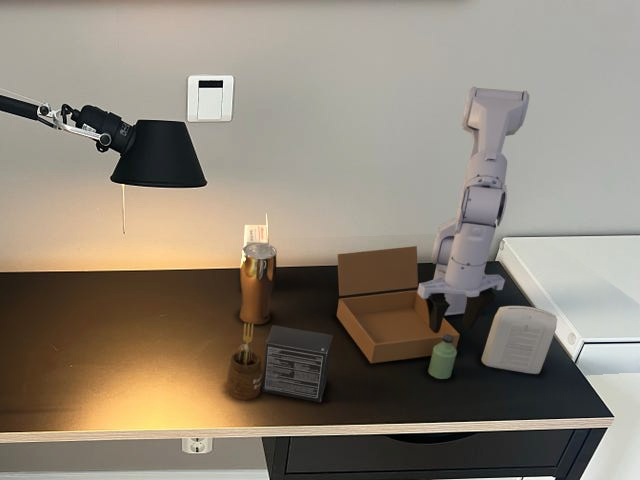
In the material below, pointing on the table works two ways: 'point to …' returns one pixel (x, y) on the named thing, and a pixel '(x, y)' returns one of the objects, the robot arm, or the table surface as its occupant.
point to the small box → (296, 363)
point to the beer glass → (257, 281)
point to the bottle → (443, 358)
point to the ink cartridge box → (256, 233)
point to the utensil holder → (245, 371)
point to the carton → (392, 325)
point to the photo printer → (519, 339)
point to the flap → (377, 270)
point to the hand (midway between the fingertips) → (450, 327)
